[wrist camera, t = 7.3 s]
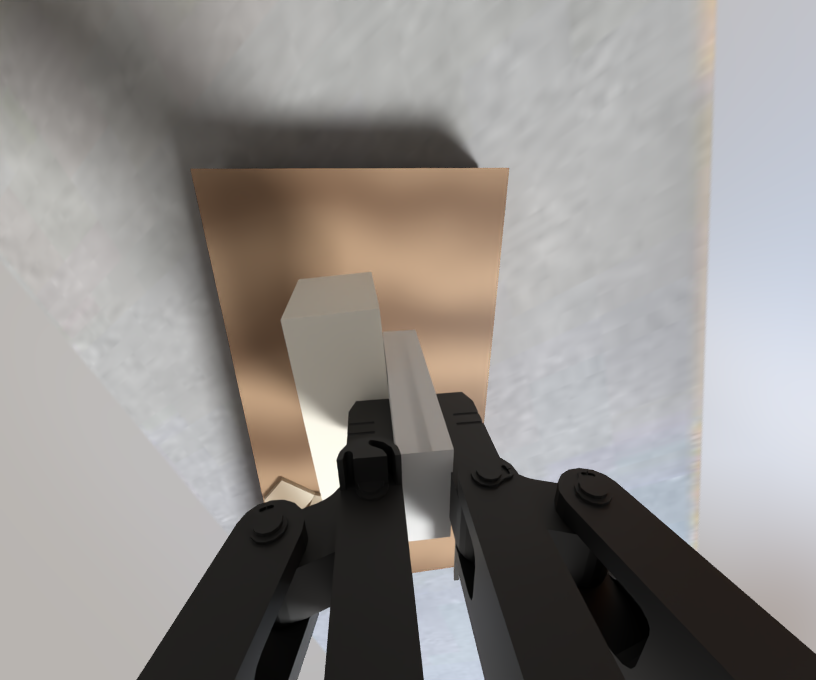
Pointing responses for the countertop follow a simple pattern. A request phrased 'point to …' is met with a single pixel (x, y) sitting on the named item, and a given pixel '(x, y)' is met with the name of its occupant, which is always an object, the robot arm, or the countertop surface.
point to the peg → (334, 360)
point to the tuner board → (348, 254)
